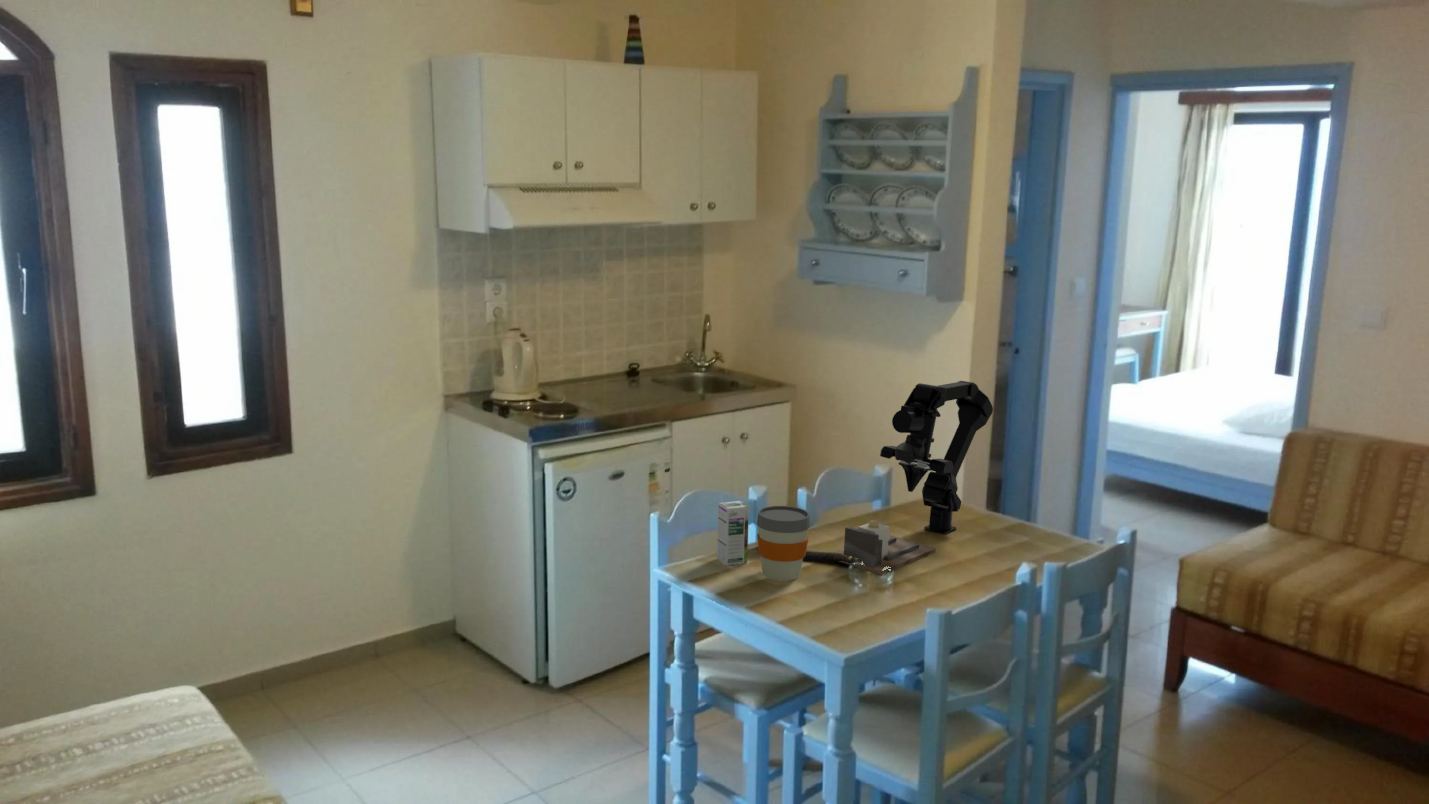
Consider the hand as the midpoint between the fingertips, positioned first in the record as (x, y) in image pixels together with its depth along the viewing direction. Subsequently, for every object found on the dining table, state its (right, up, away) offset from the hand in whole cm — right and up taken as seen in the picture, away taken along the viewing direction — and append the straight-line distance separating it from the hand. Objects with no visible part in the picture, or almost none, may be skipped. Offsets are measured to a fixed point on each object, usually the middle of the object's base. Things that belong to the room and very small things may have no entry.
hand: (910, 491), depth 282 cm
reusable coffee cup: (-35, -18, -24) cm, 46 cm away
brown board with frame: (-8, -15, -10) cm, 20 cm away
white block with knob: (-12, -15, -15) cm, 24 cm away
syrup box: (-47, -16, -16) cm, 52 cm away
